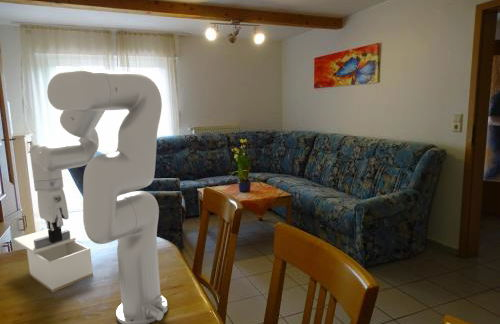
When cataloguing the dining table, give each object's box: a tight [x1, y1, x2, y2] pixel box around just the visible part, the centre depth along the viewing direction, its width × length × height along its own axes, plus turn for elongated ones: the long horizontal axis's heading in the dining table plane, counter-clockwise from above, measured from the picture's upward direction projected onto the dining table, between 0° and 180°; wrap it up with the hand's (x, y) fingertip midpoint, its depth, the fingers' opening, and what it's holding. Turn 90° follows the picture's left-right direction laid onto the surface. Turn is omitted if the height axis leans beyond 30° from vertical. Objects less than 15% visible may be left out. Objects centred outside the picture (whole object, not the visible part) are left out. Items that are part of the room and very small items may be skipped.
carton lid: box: [13, 228, 76, 253], centre depth 111 cm, size 16×12×3 cm
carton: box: [26, 240, 94, 293], centre depth 106 cm, size 16×12×9 cm
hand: (55, 241), depth 105 cm, fingers closed
